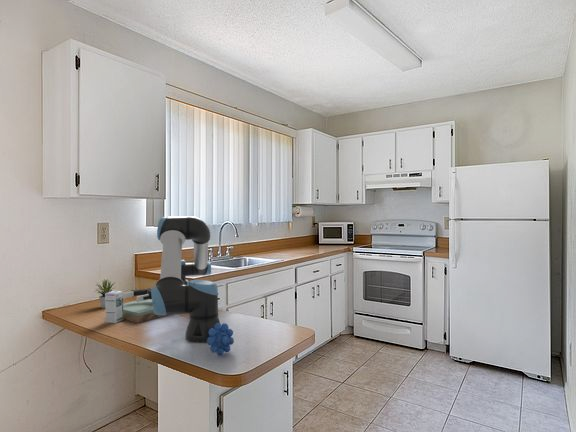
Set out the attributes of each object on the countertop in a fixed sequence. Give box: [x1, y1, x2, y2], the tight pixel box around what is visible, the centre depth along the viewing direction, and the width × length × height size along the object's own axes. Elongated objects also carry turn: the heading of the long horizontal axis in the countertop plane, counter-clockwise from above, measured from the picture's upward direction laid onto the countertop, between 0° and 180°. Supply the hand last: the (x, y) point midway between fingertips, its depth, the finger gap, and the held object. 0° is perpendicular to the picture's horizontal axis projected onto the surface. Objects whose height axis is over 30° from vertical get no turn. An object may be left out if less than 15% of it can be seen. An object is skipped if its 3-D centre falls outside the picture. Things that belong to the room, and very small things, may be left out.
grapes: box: [206, 322, 235, 356], centre depth 131 cm, size 12×7×12 cm, turn 138°
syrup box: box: [104, 290, 125, 324], centre depth 177 cm, size 6×6×14 cm
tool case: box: [123, 312, 165, 323], centre depth 190 cm, size 22×24×3 cm
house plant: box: [93, 278, 115, 309], centre depth 207 cm, size 14×14×16 cm
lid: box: [123, 299, 154, 316], centre depth 190 cm, size 22×25×8 cm
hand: (128, 297), depth 184 cm, fingers open, 13 cm apart
